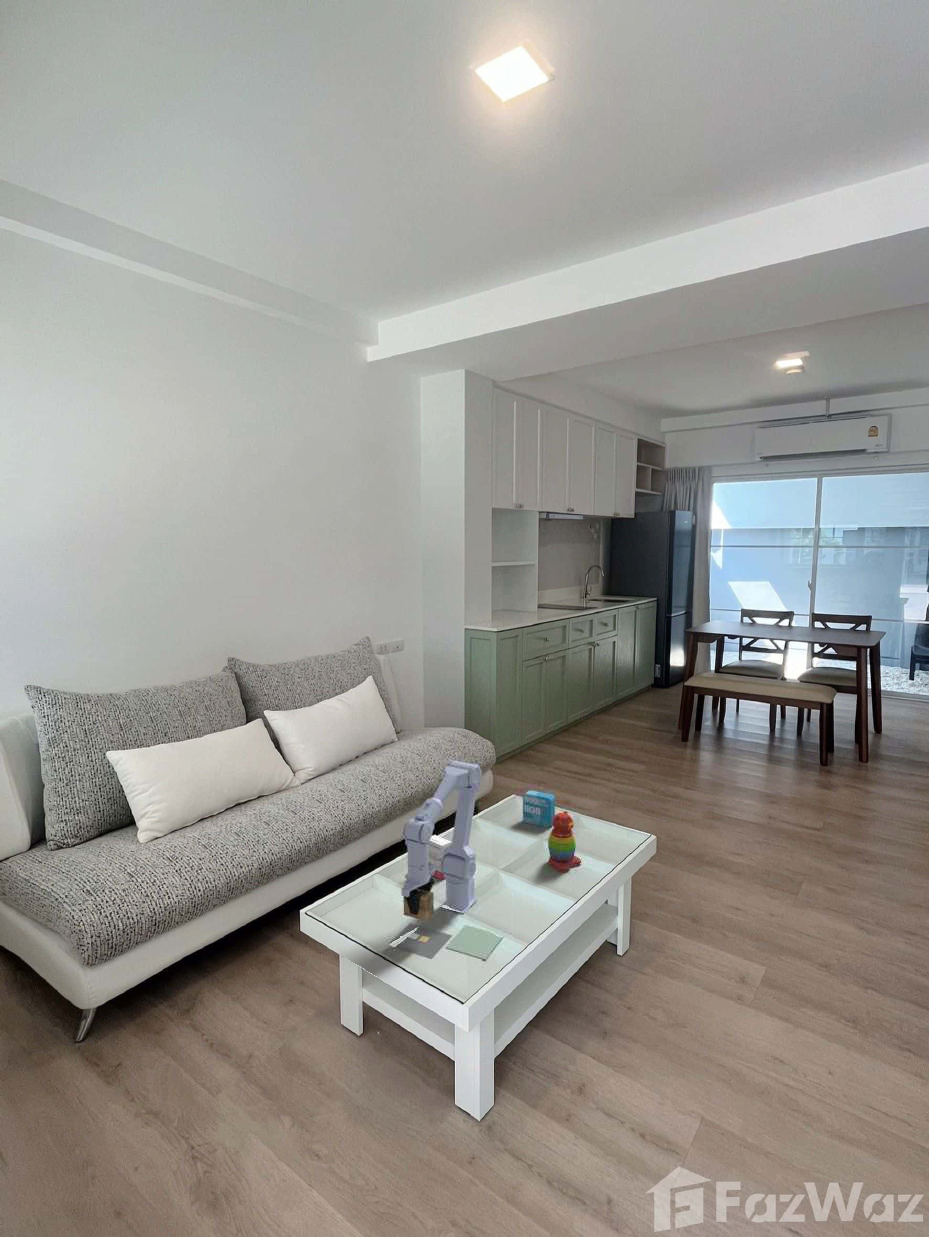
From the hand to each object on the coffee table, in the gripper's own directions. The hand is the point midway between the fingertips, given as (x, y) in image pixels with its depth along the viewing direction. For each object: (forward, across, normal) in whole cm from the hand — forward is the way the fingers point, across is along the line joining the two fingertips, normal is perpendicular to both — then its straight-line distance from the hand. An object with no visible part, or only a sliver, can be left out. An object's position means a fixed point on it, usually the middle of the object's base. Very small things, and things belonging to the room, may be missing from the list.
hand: (418, 909), depth 184 cm
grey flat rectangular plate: (+9, +1, +1) cm, 9 cm away
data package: (+9, -88, +3) cm, 88 cm away
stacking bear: (+9, -60, +22) cm, 64 cm away
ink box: (+9, -35, -13) cm, 38 cm away
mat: (+9, -5, +15) cm, 18 cm away
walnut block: (+1, 0, 0) cm, 1 cm away
